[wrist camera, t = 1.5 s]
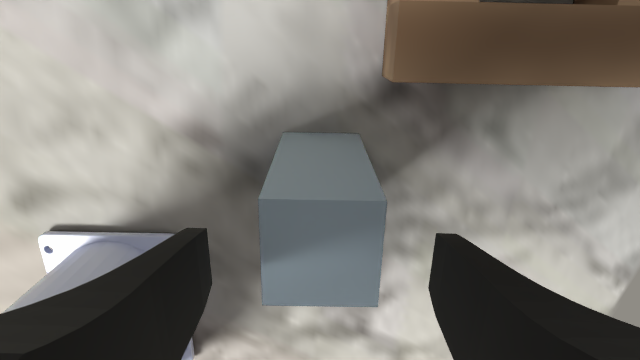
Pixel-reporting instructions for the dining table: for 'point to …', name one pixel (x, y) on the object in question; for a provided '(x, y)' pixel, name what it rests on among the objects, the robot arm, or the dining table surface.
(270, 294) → the long peg
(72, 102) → the dining table surface
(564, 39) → the plate
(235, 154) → the dining table surface
